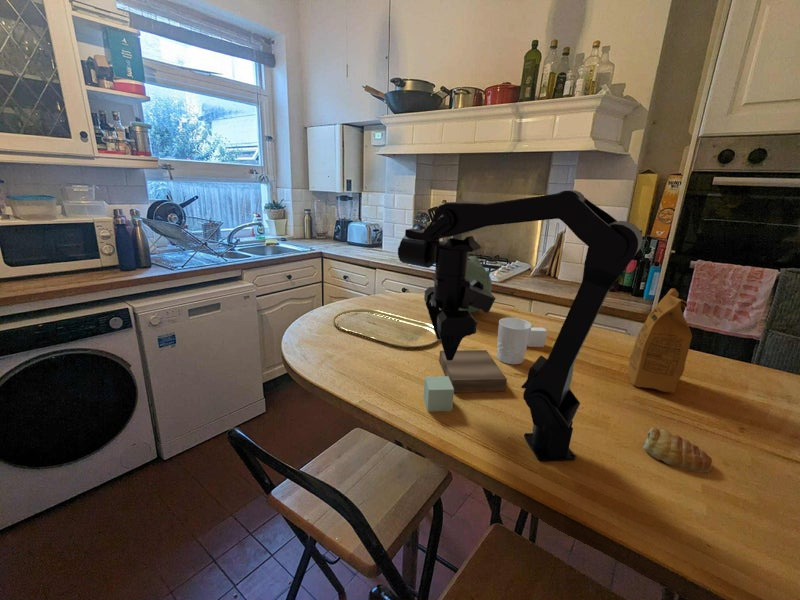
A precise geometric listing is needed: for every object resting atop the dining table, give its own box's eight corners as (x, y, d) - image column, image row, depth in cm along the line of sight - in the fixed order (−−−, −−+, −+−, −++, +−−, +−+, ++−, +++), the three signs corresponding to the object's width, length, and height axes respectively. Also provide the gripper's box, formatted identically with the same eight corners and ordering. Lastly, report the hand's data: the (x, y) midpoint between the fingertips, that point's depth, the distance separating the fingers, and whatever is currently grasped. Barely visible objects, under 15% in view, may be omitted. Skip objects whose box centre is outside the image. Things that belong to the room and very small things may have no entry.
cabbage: (498, 312, 130) (505, 256, 123) (468, 326, 117) (474, 264, 110) (461, 301, 140) (466, 248, 133) (429, 312, 127) (433, 255, 120)
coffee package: (672, 375, 91) (698, 290, 84) (678, 399, 81) (708, 305, 74) (626, 364, 96) (647, 282, 89) (625, 386, 86) (650, 295, 79)
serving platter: (420, 358, 96) (420, 352, 95) (320, 326, 113) (320, 321, 113) (450, 334, 111) (451, 329, 111) (358, 309, 128) (358, 305, 128)
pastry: (708, 459, 64) (715, 441, 63) (709, 483, 59) (717, 464, 58) (645, 436, 69) (650, 418, 68) (641, 456, 64) (646, 438, 63)
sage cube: (451, 411, 74) (454, 389, 73) (427, 411, 74) (428, 389, 72) (446, 396, 79) (448, 376, 77) (423, 397, 78) (424, 376, 77)
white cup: (527, 367, 92) (533, 330, 89) (495, 363, 94) (499, 327, 90) (524, 353, 99) (529, 319, 96) (493, 350, 101) (498, 316, 98)
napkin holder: (490, 344, 106) (492, 325, 104) (507, 332, 114) (509, 315, 112) (542, 361, 97) (546, 341, 95) (556, 347, 105) (560, 329, 103)
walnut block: (505, 391, 82) (506, 379, 81) (451, 392, 80) (452, 380, 79) (485, 360, 95) (486, 350, 94) (439, 361, 94) (439, 350, 93)
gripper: (512, 287, 60) (500, 372, 65) (478, 261, 78) (471, 330, 83) (444, 286, 59) (437, 373, 64) (426, 260, 76) (421, 330, 81)
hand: (444, 348), depth 73 cm, fingers open, 9 cm apart
